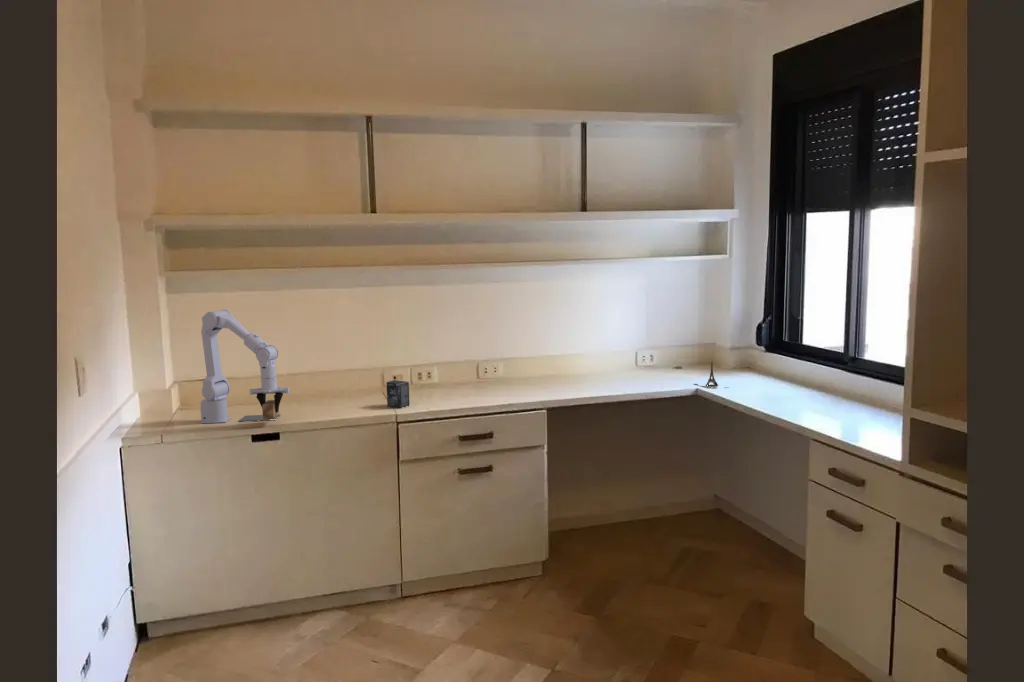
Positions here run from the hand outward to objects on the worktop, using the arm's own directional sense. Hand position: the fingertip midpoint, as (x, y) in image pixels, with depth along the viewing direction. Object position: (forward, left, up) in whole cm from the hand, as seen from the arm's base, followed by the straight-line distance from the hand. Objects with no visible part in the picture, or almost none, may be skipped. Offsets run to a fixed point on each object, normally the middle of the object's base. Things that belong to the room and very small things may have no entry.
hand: (270, 412), depth 294 cm
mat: (-7, +10, -5) cm, 13 cm away
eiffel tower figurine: (+188, +41, -6) cm, 192 cm away
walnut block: (0, 0, -2) cm, 2 cm away
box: (+47, +23, -5) cm, 53 cm away
